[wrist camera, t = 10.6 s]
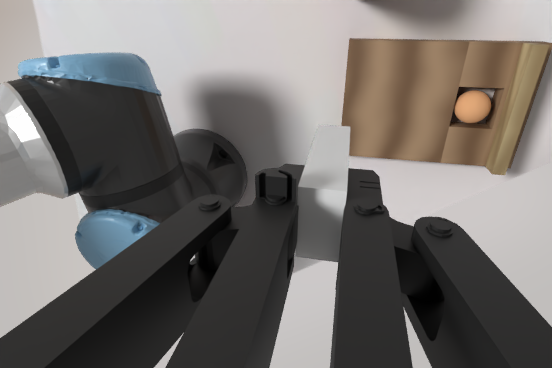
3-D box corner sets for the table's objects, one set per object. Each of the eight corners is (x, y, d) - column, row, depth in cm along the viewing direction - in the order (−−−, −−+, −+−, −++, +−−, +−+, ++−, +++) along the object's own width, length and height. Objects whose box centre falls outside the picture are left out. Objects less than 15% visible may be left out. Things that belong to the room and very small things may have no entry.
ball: (445, 117, 45) (458, 127, 41) (453, 86, 43) (467, 93, 40) (476, 118, 45) (492, 127, 41) (485, 87, 43) (502, 94, 39)
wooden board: (339, 148, 50) (338, 161, 46) (349, 38, 43) (349, 41, 39) (503, 160, 46) (518, 176, 42) (542, 41, 39) (565, 45, 35)
